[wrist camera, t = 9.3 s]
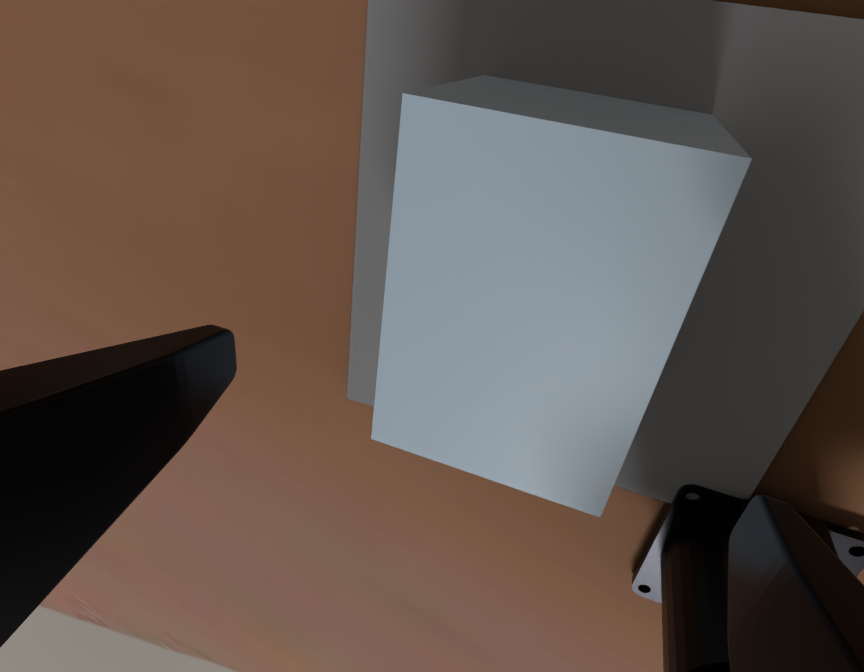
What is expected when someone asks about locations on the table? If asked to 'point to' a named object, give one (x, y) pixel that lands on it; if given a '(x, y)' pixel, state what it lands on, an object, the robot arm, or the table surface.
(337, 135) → the table surface
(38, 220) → the table surface
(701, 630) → the robot arm
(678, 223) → the grey rectangular block
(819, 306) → the mat
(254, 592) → the table surface
